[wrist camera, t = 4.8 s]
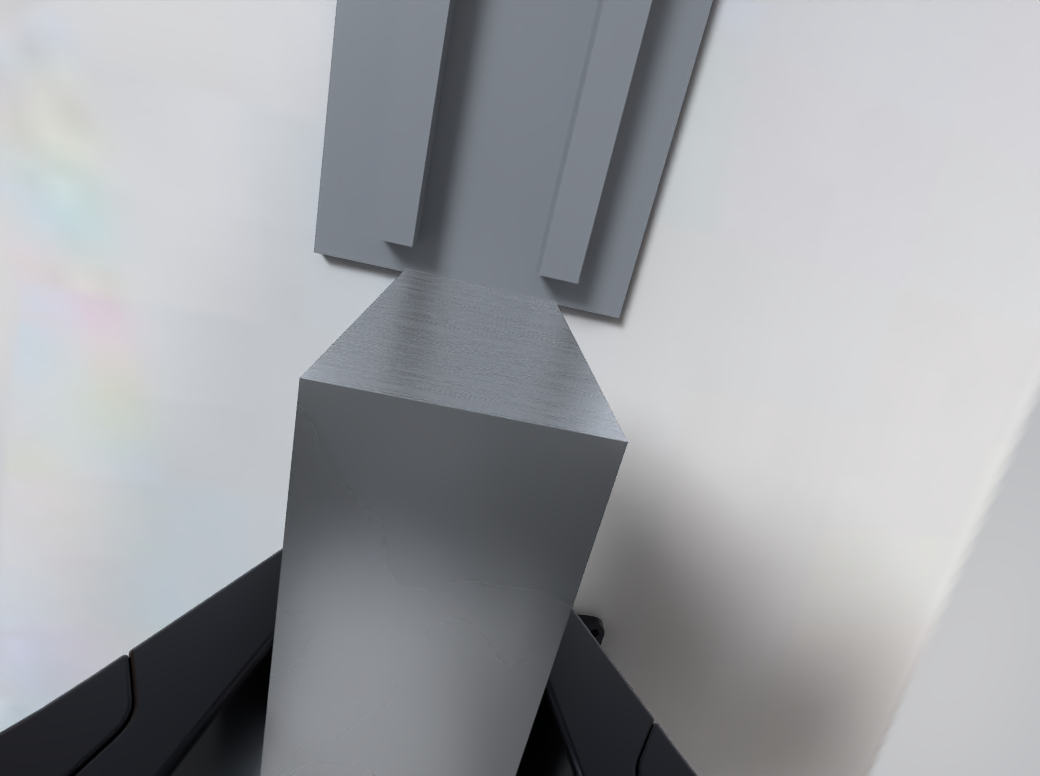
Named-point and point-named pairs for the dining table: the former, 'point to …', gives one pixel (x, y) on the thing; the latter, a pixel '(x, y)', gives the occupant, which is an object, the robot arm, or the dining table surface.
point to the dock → (503, 138)
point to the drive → (434, 533)
